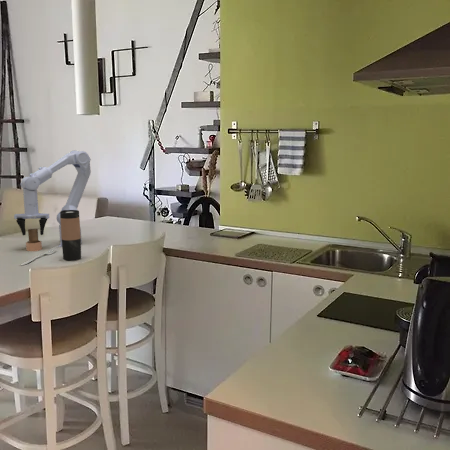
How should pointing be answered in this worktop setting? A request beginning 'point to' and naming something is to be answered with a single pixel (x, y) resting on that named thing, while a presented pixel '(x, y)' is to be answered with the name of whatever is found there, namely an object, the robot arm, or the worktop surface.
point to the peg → (33, 235)
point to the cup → (33, 246)
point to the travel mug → (70, 235)
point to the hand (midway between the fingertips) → (33, 234)
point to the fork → (39, 255)
